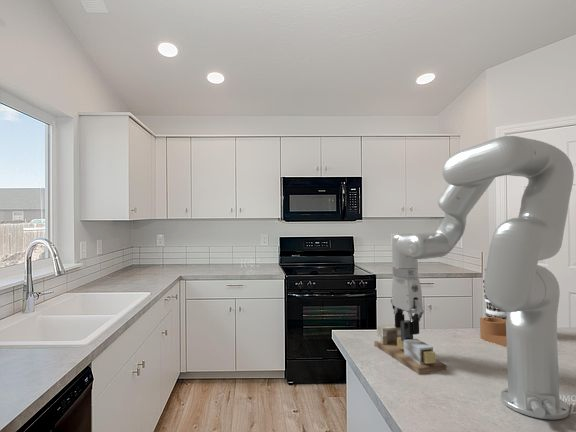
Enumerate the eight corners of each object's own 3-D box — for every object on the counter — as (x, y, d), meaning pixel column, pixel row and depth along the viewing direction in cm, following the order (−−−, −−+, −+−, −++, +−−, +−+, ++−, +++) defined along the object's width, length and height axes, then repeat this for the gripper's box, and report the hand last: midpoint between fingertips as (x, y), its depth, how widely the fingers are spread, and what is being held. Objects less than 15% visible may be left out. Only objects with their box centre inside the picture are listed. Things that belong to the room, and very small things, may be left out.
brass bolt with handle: (436, 362, 99) (435, 331, 99) (426, 363, 98) (425, 332, 99) (405, 345, 114) (404, 318, 114) (396, 346, 113) (396, 318, 113)
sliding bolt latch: (446, 370, 99) (445, 346, 100) (418, 374, 97) (418, 349, 97) (397, 342, 123) (397, 323, 123) (374, 345, 121) (374, 325, 121)
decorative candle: (507, 339, 125) (504, 267, 125) (480, 332, 132) (477, 265, 133) (518, 334, 130) (515, 265, 131) (491, 328, 137) (489, 263, 138)
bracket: (475, 338, 126) (474, 319, 127) (489, 334, 130) (489, 315, 131) (529, 354, 111) (528, 332, 111) (543, 349, 115) (543, 327, 115)
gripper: (433, 276, 103) (435, 337, 103) (400, 269, 120) (401, 322, 119) (411, 277, 101) (413, 340, 101) (380, 270, 118) (381, 324, 117)
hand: (406, 330), depth 110 cm, fingers open, 6 cm apart
